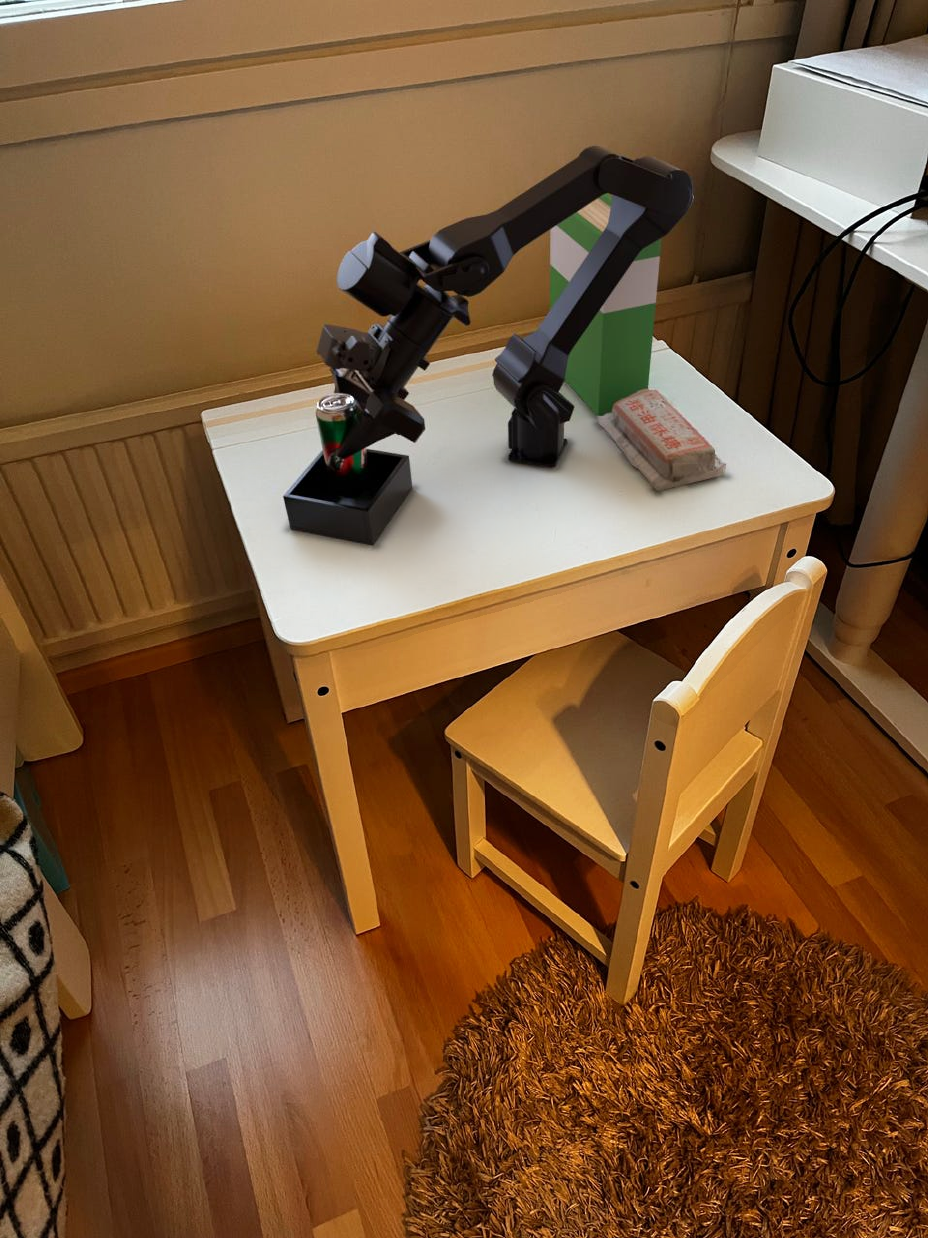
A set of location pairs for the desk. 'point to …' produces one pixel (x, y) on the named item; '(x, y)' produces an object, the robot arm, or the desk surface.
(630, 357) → the hardback book
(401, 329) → the robot arm
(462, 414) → the desk surface
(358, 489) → the soda can
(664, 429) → the packaged product
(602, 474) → the desk surface
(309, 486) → the open black square box
